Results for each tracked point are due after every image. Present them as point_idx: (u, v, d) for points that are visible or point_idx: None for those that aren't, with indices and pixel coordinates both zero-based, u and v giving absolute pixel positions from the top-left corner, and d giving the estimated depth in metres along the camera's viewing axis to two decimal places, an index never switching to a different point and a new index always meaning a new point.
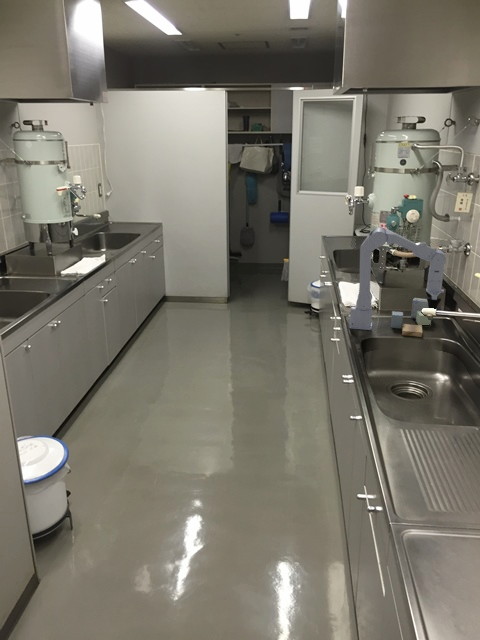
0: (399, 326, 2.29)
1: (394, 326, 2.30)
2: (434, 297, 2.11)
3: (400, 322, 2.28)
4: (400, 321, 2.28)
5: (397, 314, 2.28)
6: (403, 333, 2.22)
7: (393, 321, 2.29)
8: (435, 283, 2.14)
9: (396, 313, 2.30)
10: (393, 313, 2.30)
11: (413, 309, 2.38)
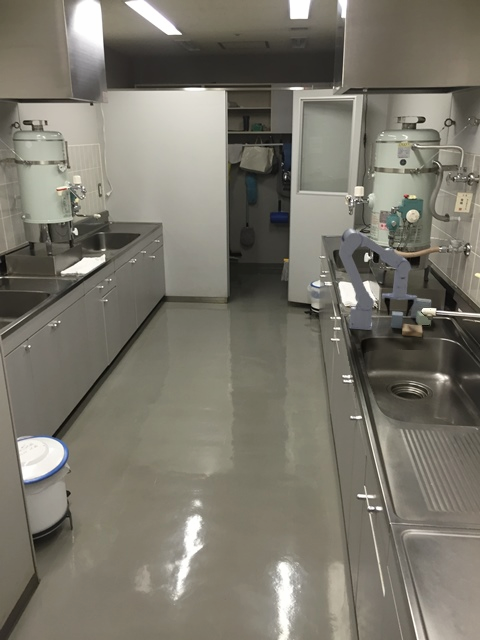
0: (399, 326, 2.29)
1: (394, 326, 2.30)
2: (382, 296, 2.29)
3: (400, 322, 2.28)
4: (400, 321, 2.28)
5: (397, 314, 2.28)
6: (403, 333, 2.22)
7: (393, 321, 2.29)
8: (393, 287, 2.26)
9: (396, 313, 2.30)
10: (393, 313, 2.30)
11: (413, 309, 2.38)
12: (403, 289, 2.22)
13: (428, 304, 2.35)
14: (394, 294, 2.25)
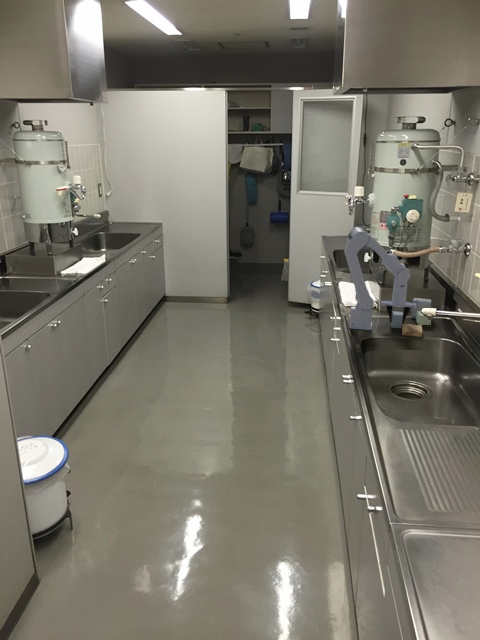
0: (399, 326, 2.29)
1: (394, 326, 2.30)
2: (381, 303, 2.30)
3: (400, 322, 2.28)
4: (400, 321, 2.28)
5: (397, 314, 2.28)
6: (403, 333, 2.22)
7: (393, 321, 2.29)
8: None
9: (396, 313, 2.30)
10: (393, 313, 2.30)
11: (413, 309, 2.38)
12: (402, 297, 2.24)
13: (428, 304, 2.35)
14: (393, 302, 2.26)
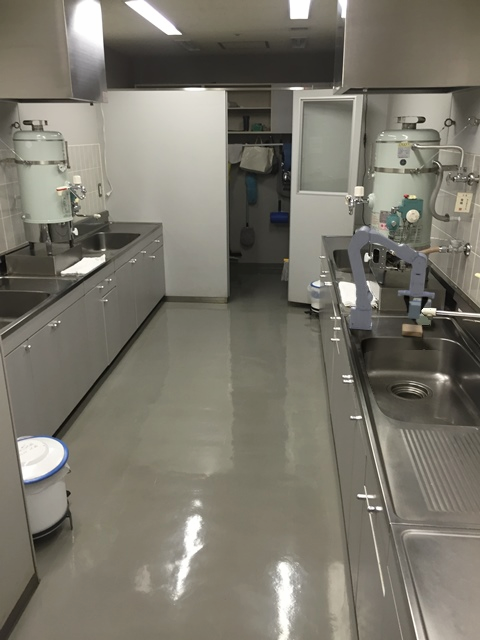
0: (417, 317, 2.19)
1: (411, 317, 2.20)
2: (398, 293, 2.20)
3: (418, 312, 2.19)
4: (418, 311, 2.18)
5: (415, 304, 2.19)
6: (403, 333, 2.22)
7: (410, 311, 2.19)
8: (410, 283, 2.17)
9: (413, 303, 2.20)
10: (410, 303, 2.20)
11: None
12: (420, 286, 2.14)
13: (428, 304, 2.35)
14: (411, 291, 2.16)
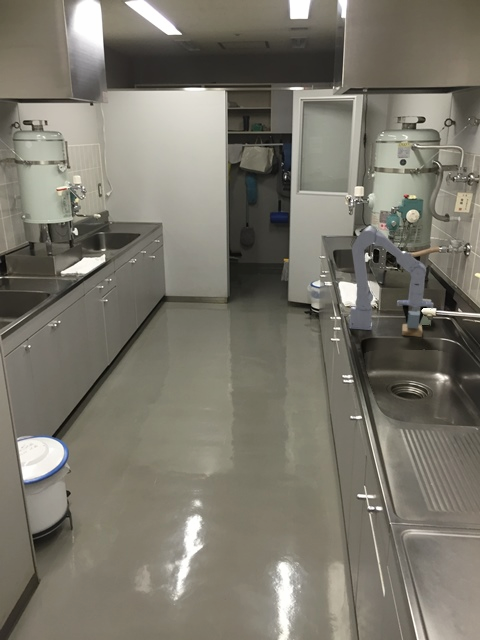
0: (416, 326, 2.21)
1: (410, 326, 2.22)
2: (397, 303, 2.22)
3: (417, 322, 2.20)
4: (417, 321, 2.20)
5: (414, 314, 2.20)
6: (403, 333, 2.22)
7: (409, 321, 2.21)
8: (409, 293, 2.19)
9: (412, 313, 2.22)
10: (409, 313, 2.22)
11: (413, 309, 2.38)
12: (419, 296, 2.16)
13: None
14: (410, 301, 2.18)
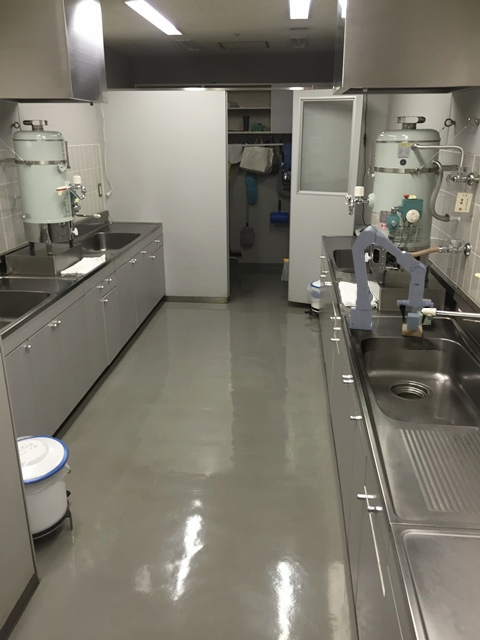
0: (415, 328, 2.21)
1: (410, 328, 2.22)
2: (397, 303, 2.22)
3: (416, 324, 2.21)
4: (416, 323, 2.20)
5: (413, 316, 2.21)
6: (403, 333, 2.22)
7: (409, 323, 2.21)
8: (409, 293, 2.19)
9: (412, 315, 2.22)
10: (409, 315, 2.22)
11: (413, 309, 2.38)
12: (419, 296, 2.16)
13: None
14: (410, 301, 2.18)
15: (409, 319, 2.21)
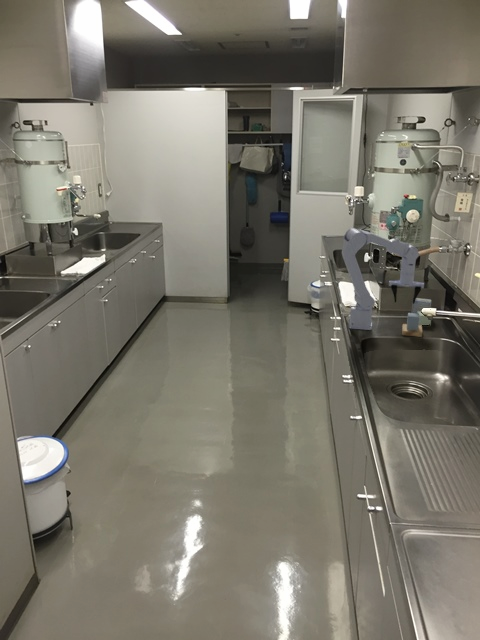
0: (415, 328, 2.21)
1: (410, 328, 2.22)
2: (389, 283, 2.29)
3: (416, 324, 2.21)
4: (416, 323, 2.20)
5: (413, 316, 2.21)
6: (403, 333, 2.22)
7: (409, 323, 2.21)
8: (400, 274, 2.26)
9: (412, 315, 2.22)
10: (409, 315, 2.22)
11: (413, 309, 2.38)
12: (410, 276, 2.23)
13: (428, 304, 2.35)
14: (401, 281, 2.25)
15: (409, 319, 2.21)
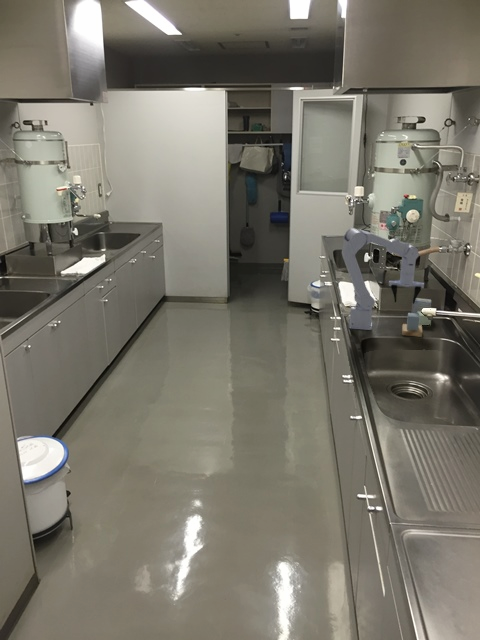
0: (415, 328, 2.21)
1: (410, 328, 2.22)
2: (389, 283, 2.29)
3: (416, 324, 2.21)
4: (416, 323, 2.20)
5: (413, 316, 2.21)
6: (403, 333, 2.22)
7: (409, 323, 2.21)
8: (400, 274, 2.26)
9: (412, 315, 2.22)
10: (409, 315, 2.22)
11: (413, 309, 2.38)
12: (410, 276, 2.23)
13: (428, 304, 2.35)
14: (401, 281, 2.25)
15: (409, 319, 2.21)
